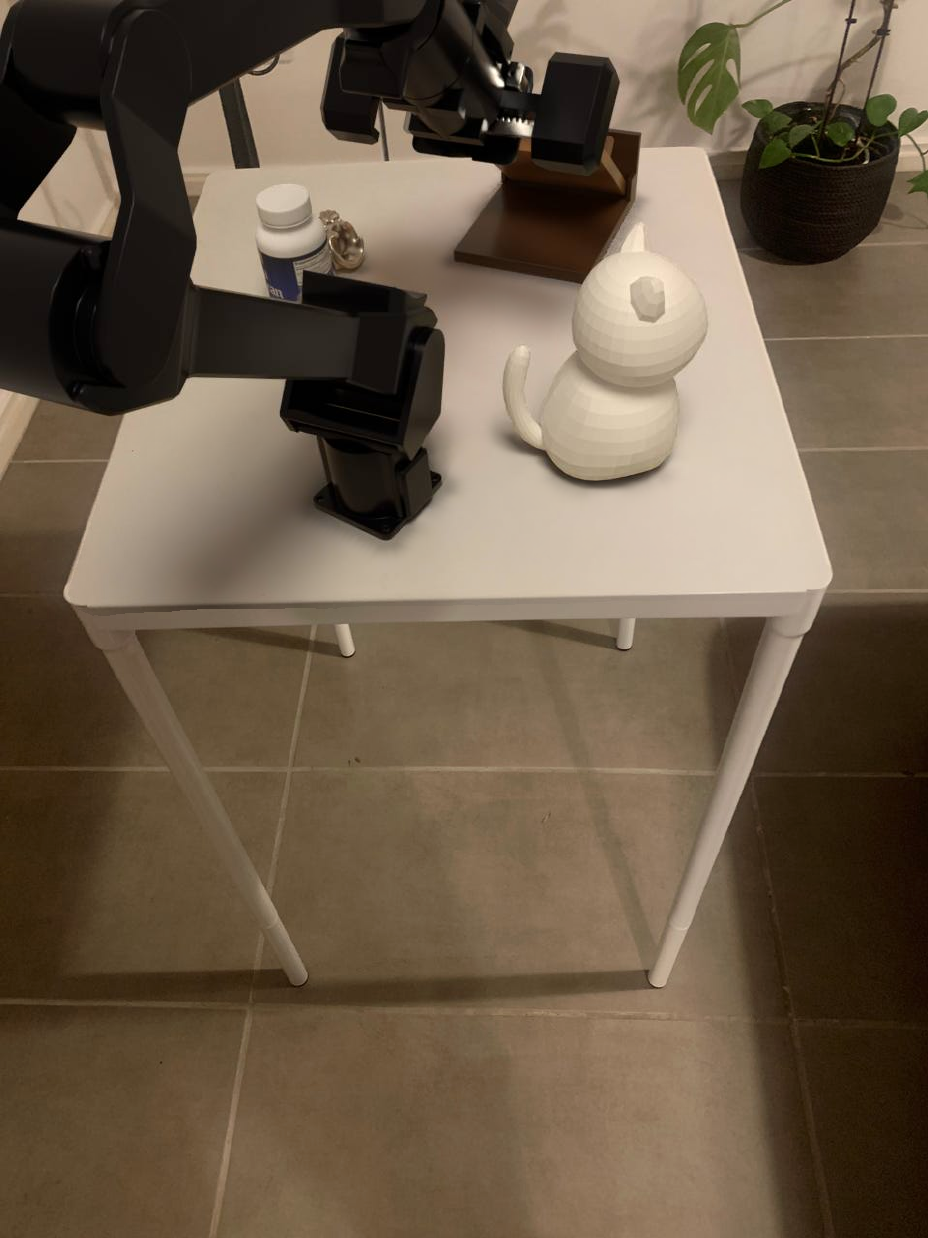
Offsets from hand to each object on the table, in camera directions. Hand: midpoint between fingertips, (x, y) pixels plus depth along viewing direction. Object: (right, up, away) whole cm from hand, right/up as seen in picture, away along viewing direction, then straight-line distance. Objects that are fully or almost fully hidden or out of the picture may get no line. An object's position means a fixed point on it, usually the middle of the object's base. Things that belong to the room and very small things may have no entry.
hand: (500, 150), depth 67 cm
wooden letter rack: (+5, +4, +12) cm, 14 cm away
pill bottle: (-16, -8, +10) cm, 20 cm away
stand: (+5, +1, +15) cm, 16 cm away
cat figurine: (+6, -22, -2) cm, 23 cm away
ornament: (-15, -2, +15) cm, 21 cm away
